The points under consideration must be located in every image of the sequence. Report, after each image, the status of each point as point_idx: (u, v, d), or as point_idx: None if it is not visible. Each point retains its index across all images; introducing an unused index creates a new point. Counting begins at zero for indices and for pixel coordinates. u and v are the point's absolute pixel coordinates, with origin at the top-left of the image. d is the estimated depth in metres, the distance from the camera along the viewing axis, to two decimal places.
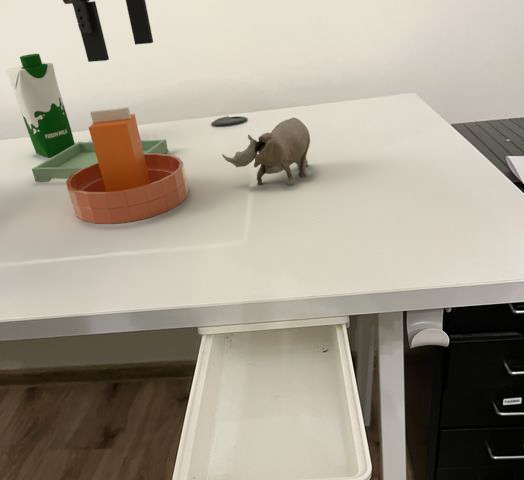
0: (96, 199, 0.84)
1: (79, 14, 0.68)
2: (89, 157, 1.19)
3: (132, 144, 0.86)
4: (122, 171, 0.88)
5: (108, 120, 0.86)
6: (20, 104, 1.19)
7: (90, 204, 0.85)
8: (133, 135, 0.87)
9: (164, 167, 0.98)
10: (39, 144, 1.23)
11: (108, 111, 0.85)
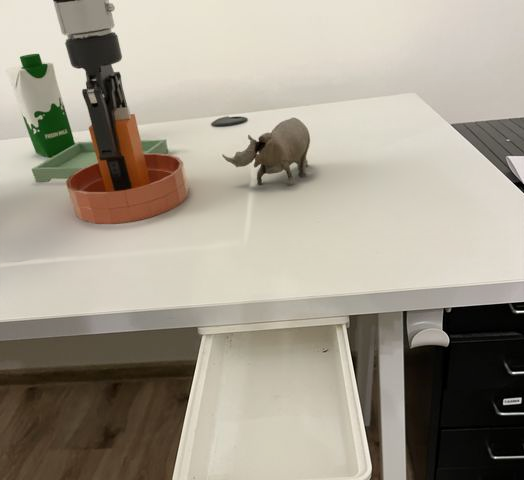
0: (96, 199, 0.84)
1: (113, 167, 0.86)
2: (89, 157, 1.19)
3: (132, 144, 0.86)
4: None
5: None
6: (20, 104, 1.19)
7: (90, 204, 0.85)
8: (133, 135, 0.87)
9: (164, 167, 0.98)
10: (39, 144, 1.23)
11: None
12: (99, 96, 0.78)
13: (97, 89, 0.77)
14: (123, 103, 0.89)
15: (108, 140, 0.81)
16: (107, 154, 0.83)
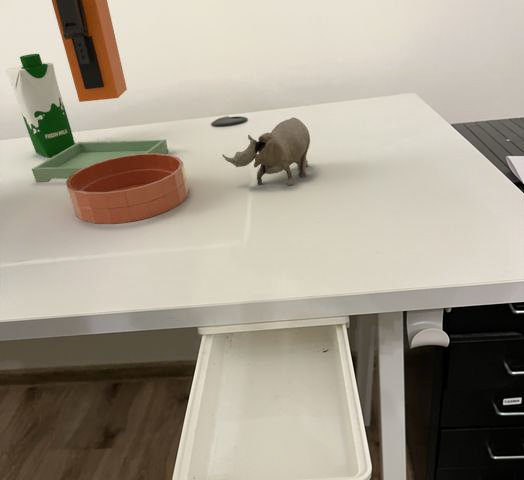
0: (96, 199, 0.84)
1: (80, 48, 0.76)
2: (89, 157, 1.19)
3: (101, 22, 0.76)
4: None
5: None
6: (20, 104, 1.19)
7: (90, 204, 0.85)
8: (103, 13, 0.77)
9: (164, 167, 0.98)
10: (39, 144, 1.23)
11: None
12: None
13: None
14: None
15: (72, 10, 0.72)
16: (71, 28, 0.73)
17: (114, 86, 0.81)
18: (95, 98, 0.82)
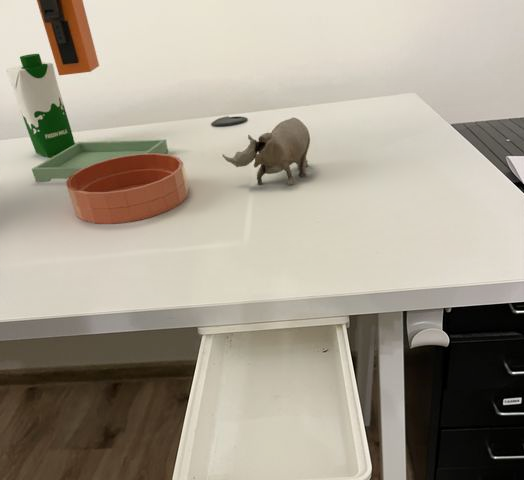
0: (96, 199, 0.84)
1: (57, 30, 0.94)
2: (89, 157, 1.19)
3: (75, 9, 0.94)
4: None
5: None
6: (20, 104, 1.19)
7: (90, 204, 0.85)
8: (76, 2, 0.95)
9: (164, 167, 0.98)
10: (39, 144, 1.23)
11: None
12: None
13: None
14: None
15: None
16: (50, 13, 0.91)
17: (87, 61, 0.99)
18: (71, 71, 1.00)
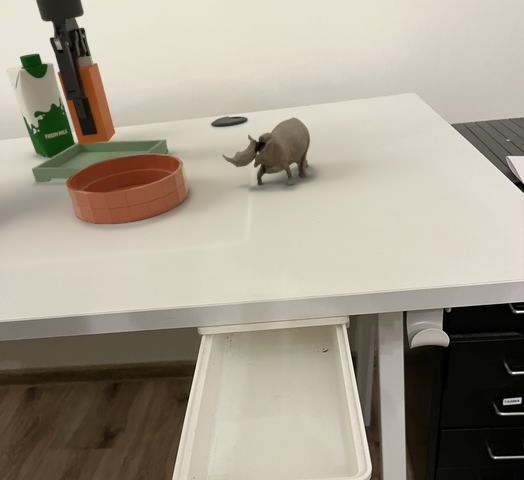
0: (96, 199, 0.84)
1: (78, 106, 1.03)
2: (89, 157, 1.19)
3: (94, 87, 1.03)
4: None
5: None
6: (20, 104, 1.19)
7: (90, 204, 0.85)
8: (95, 80, 1.04)
9: (164, 167, 0.98)
10: (39, 144, 1.23)
11: None
12: (64, 43, 0.95)
13: (62, 37, 0.95)
14: (88, 54, 1.07)
15: (72, 81, 0.99)
16: (72, 94, 1.00)
17: (105, 132, 1.07)
18: (90, 141, 1.08)
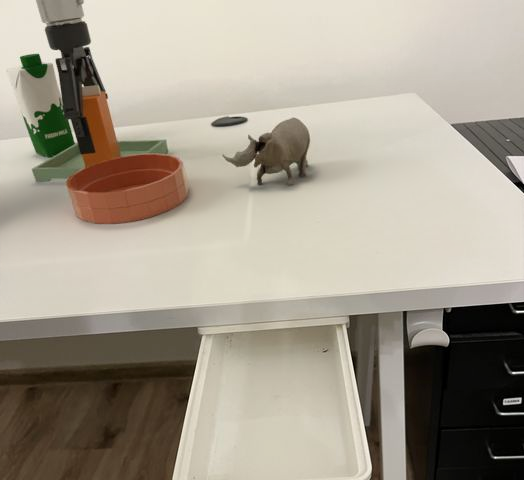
0: (96, 199, 0.84)
1: (77, 126, 1.01)
2: None
3: (102, 115, 1.06)
4: (94, 137, 1.08)
5: (82, 95, 1.06)
6: (20, 104, 1.19)
7: (90, 204, 0.85)
8: (103, 108, 1.07)
9: (164, 167, 0.98)
10: (39, 144, 1.23)
11: (82, 88, 1.05)
12: (68, 63, 0.97)
13: (67, 57, 0.96)
14: (94, 72, 1.10)
15: (72, 100, 0.98)
16: (70, 112, 0.98)
17: None
18: None
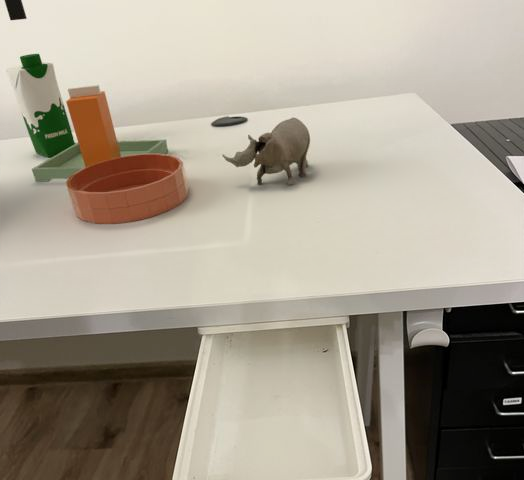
0: (96, 199, 0.84)
1: None
2: None
3: (102, 115, 1.06)
4: (94, 137, 1.08)
5: (82, 95, 1.06)
6: (20, 104, 1.19)
7: (90, 204, 0.85)
8: (103, 108, 1.07)
9: (164, 167, 0.98)
10: (39, 144, 1.23)
11: (82, 88, 1.05)
12: None
13: None
14: None
15: None
16: None
17: None
18: None
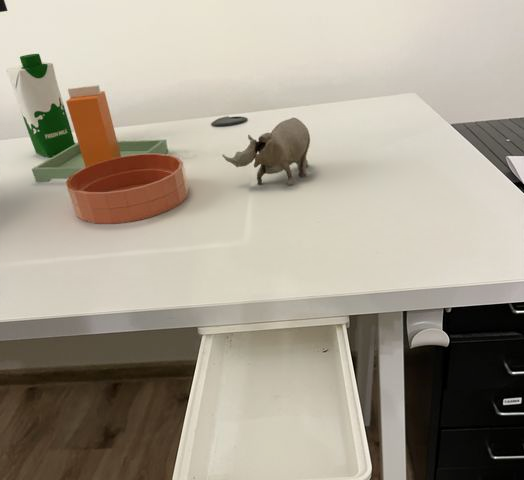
0: (96, 199, 0.84)
1: None
2: None
3: (102, 115, 1.06)
4: (94, 137, 1.08)
5: (82, 95, 1.06)
6: (20, 104, 1.19)
7: (90, 204, 0.85)
8: (103, 108, 1.07)
9: (164, 167, 0.98)
10: (39, 144, 1.23)
11: (82, 88, 1.05)
12: None
13: None
14: None
15: None
16: None
17: None
18: None
